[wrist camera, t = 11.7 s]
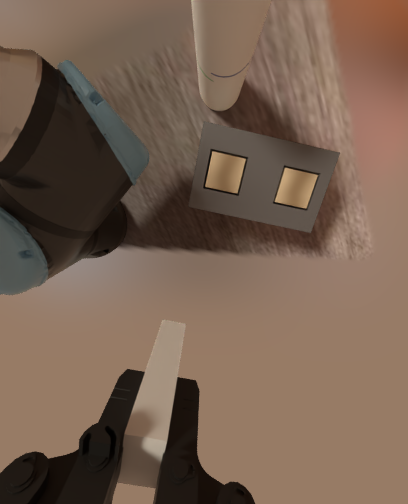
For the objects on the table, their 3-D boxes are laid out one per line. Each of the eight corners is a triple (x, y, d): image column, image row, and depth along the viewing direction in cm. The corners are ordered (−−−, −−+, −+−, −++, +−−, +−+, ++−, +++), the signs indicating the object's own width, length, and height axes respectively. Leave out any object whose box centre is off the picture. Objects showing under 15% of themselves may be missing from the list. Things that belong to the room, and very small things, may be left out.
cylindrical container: (234, 115, 38) (277, 2, 14) (195, 105, 38) (173, -30, 14) (245, 68, 36) (318, -156, 12) (204, 56, 36) (197, -198, 12)
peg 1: (205, 186, 40) (205, 186, 32) (211, 157, 39) (212, 151, 31) (231, 191, 40) (237, 193, 33) (238, 163, 39) (245, 158, 31)
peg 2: (262, 198, 41) (275, 201, 33) (270, 171, 39) (285, 167, 31) (287, 204, 41) (306, 208, 33) (296, 176, 39) (318, 175, 32)
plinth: (192, 201, 43) (188, 206, 33) (204, 136, 39) (203, 121, 30) (288, 222, 44) (310, 232, 34) (308, 160, 40) (340, 152, 31)
